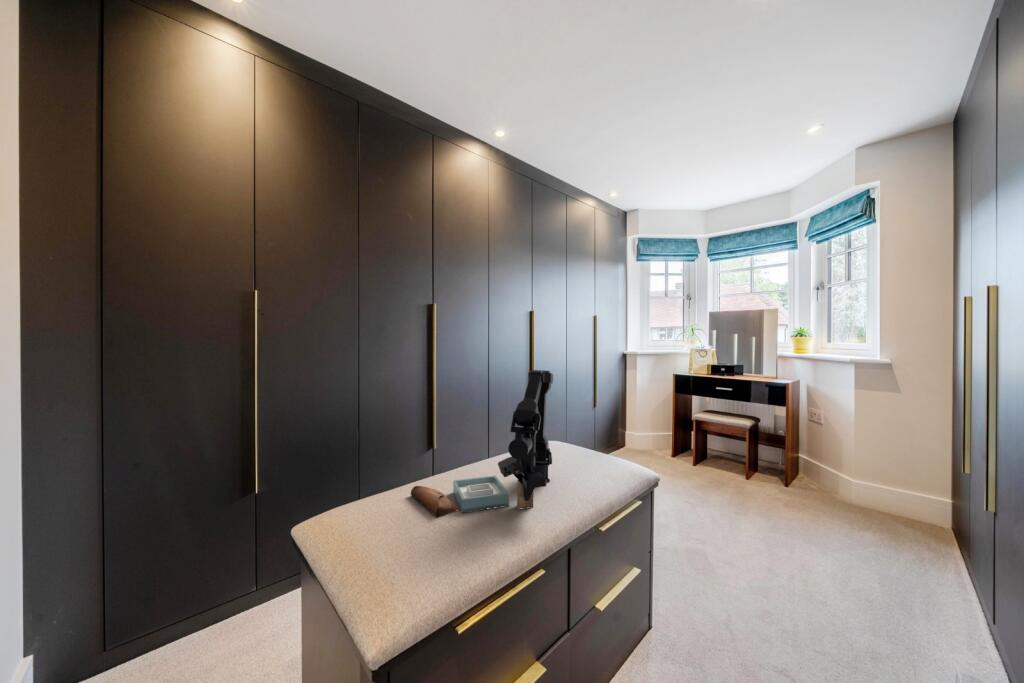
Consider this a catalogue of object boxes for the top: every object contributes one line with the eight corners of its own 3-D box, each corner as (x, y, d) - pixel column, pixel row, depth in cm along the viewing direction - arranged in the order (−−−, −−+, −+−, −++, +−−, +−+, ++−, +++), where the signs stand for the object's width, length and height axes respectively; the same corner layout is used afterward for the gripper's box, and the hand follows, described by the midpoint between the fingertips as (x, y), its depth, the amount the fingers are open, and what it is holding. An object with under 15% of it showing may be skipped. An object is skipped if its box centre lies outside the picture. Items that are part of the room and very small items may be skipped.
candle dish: (495, 486, 130) (495, 475, 130) (508, 506, 116) (509, 493, 116) (453, 492, 125) (453, 480, 125) (461, 513, 112) (462, 499, 111)
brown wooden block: (530, 503, 118) (530, 478, 118) (533, 507, 116) (533, 481, 115) (517, 505, 117) (517, 480, 116) (519, 509, 114) (520, 483, 114)
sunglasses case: (461, 509, 113) (451, 493, 111) (443, 527, 110) (433, 511, 107) (433, 489, 127) (424, 474, 125) (417, 504, 124) (407, 490, 122)
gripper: (492, 441, 122) (491, 489, 122) (510, 461, 104) (510, 517, 105) (524, 439, 125) (523, 485, 126) (547, 457, 108) (546, 511, 108)
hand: (525, 498), depth 116 cm, fingers closed on brown wooden block, 2 cm apart
